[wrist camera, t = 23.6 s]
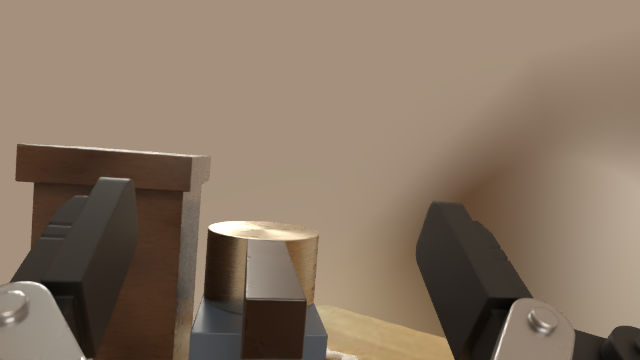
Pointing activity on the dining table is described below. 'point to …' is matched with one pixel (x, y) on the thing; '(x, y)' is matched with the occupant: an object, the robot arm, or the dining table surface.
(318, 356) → the blue-grey block
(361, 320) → the dining table surface
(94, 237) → the robot arm
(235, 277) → the milk pan
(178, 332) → the tall stand
